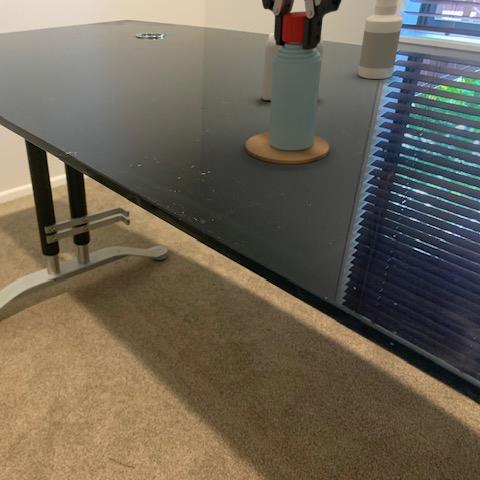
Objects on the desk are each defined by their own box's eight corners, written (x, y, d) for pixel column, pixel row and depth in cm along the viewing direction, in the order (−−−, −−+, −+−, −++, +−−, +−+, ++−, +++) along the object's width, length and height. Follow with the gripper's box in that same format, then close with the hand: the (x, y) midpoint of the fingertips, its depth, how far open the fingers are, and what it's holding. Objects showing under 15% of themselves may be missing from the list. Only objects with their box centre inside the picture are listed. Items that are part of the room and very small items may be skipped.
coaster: (281, 129, 81) (282, 125, 81) (346, 147, 73) (346, 144, 73) (228, 148, 75) (228, 144, 75) (292, 171, 67) (292, 167, 67)
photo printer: (317, 95, 96) (324, 26, 90) (318, 102, 93) (326, 30, 86) (262, 95, 98) (265, 28, 92) (261, 102, 95) (265, 32, 88)
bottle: (284, 132, 78) (291, 13, 69) (322, 140, 74) (334, 15, 65) (260, 145, 74) (264, 20, 65) (299, 154, 70) (308, 23, 61)
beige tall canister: (357, 79, 105) (371, -18, 96) (357, 71, 110) (371, -21, 101) (393, 79, 103) (411, -19, 94) (391, 72, 108) (408, -22, 99)
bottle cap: (275, 40, 67) (276, 15, 66) (295, 35, 69) (297, 10, 68) (300, 44, 64) (302, 17, 63) (321, 38, 66) (323, 12, 65)
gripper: (240, -104, 61) (237, 45, 70) (340, -117, 51) (322, 58, 60) (281, -105, 65) (274, 37, 74) (382, -118, 55) (360, 48, 64)
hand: (296, 45), depth 67 cm, fingers closed on bottle cap, 4 cm apart
